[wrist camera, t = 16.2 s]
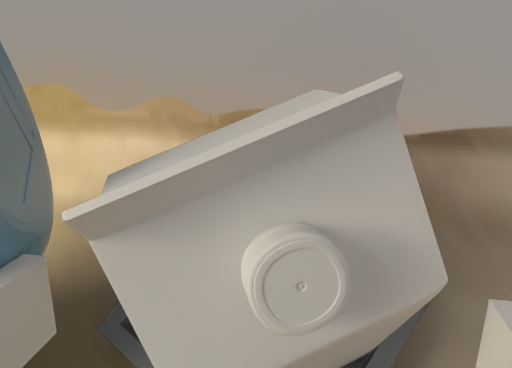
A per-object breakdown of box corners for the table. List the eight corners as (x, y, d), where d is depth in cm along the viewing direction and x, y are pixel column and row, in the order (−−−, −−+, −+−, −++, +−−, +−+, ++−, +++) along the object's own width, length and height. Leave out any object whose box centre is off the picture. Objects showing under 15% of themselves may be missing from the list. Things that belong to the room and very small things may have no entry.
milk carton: (207, 292, 26) (32, 84, 9) (310, 245, 27) (319, -26, 10) (252, 412, 23) (105, 425, 6) (368, 354, 23) (528, 221, 7)
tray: (116, 336, 26) (95, 328, 24) (252, 175, 31) (247, 153, 28) (300, 509, 21) (300, 524, 19) (431, 287, 26) (445, 273, 23)
